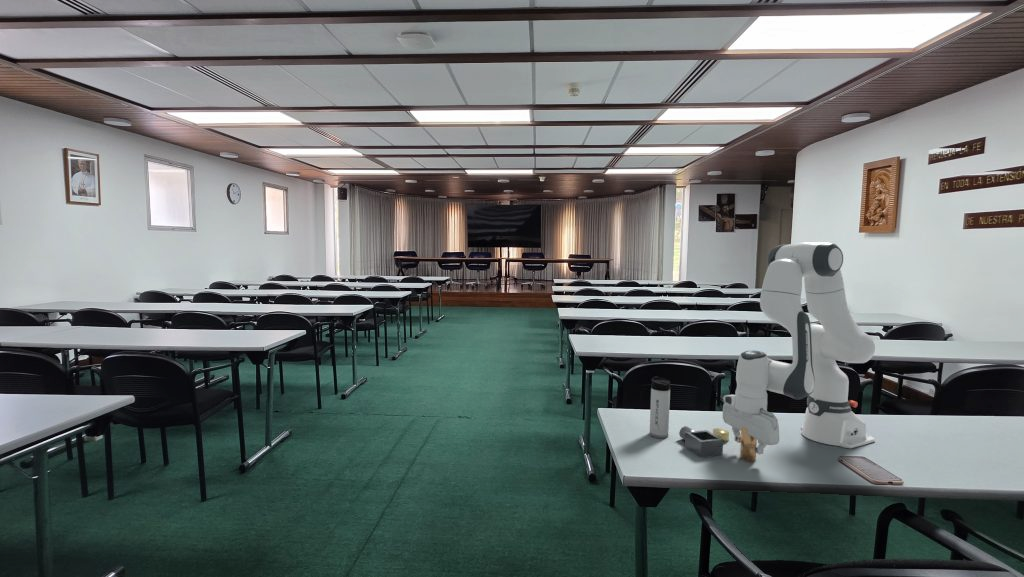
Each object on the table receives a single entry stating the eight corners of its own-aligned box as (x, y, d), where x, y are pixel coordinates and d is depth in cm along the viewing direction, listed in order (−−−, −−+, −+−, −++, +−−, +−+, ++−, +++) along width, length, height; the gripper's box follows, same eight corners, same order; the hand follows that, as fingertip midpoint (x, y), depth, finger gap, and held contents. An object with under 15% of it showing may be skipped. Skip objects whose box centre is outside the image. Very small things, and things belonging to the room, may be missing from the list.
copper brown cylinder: (748, 454, 148) (750, 424, 147) (759, 461, 144) (760, 429, 143) (736, 456, 147) (738, 425, 146) (747, 462, 143) (748, 430, 142)
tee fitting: (694, 437, 161) (695, 423, 161) (722, 454, 148) (723, 439, 147) (674, 439, 159) (675, 425, 159) (700, 457, 146) (701, 441, 145)
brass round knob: (721, 436, 163) (722, 427, 163) (731, 441, 158) (732, 433, 158) (709, 437, 162) (709, 429, 162) (719, 443, 157) (719, 434, 157)
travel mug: (660, 430, 167) (662, 375, 166) (672, 437, 161) (674, 380, 160) (645, 432, 166) (647, 377, 164) (656, 439, 159) (658, 382, 158)
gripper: (786, 414, 135) (783, 460, 136) (736, 393, 154) (734, 434, 156) (768, 416, 133) (765, 463, 134) (719, 394, 153) (717, 435, 154)
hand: (748, 447), depth 145 cm, fingers open, 7 cm apart
